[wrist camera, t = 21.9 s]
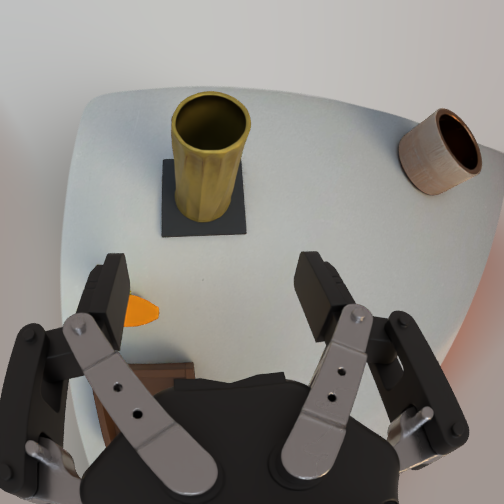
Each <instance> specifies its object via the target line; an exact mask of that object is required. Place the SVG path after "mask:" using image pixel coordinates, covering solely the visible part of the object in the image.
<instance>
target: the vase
mask: <svg viewBox="0 0 504 504" xmlns="http://www.w3.org/2000/svg"><path fill="white" fill-rule="evenodd" d="M171 121H172V125H171V137H172V148H173V155H174V165H175V180H176V191H175V202H176V205H177V207H178V209H179V210H180V212H181V213H182V214H183V215H184V216H185V217H187V218H189V219H191V220H193V221H196V222H210V221H213V220H215V219H217V218H219V217H221V216H222V215H223V214H224V213H225V212H226V210H227V209H228V207H229V205H230V202H231V195H232V192H233V188H234V184H235V179H236V175H237V171H238V167H239V163H240V159H241V156H242V152H243V148H244V145H245V142H246V139H247V136H248V134H249V131H250V128H251V120H250V115H249V113H248V110H247V109H246V107H245V106H244V105H243V104H242V103H241V102H239V101H238V100H237V99H235V98H234V97H232V96H230V95H227V94H224V93H221V92H214V91H207V92H201V93H197V94H194V95H192V96H189V97H187V98H186V99H185V100H183V101H182V102H181V103H180V104H179V105H178V107H177V108H176V110H175V112H174V114H173V116H172V120H171Z"/></svg>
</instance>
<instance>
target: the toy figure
mask: <svg viewBox="0 0 504 504" xmlns="http://www.w3.org/2000/svg"><path fill="white" fill-rule="evenodd" d="M130 292H131V291H130ZM158 317H159V307H157V306H155V305H154V304H152V303H151V302H149V301H147V300H145V299H143V298H140V297H138V296H134V295H131V294H130V295H129V300H128V305H127V310H126V316H125V322H124V327H134V326H140V325H144V324H147V323H150V322H152V321H154V320H156V319H158Z"/></svg>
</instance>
